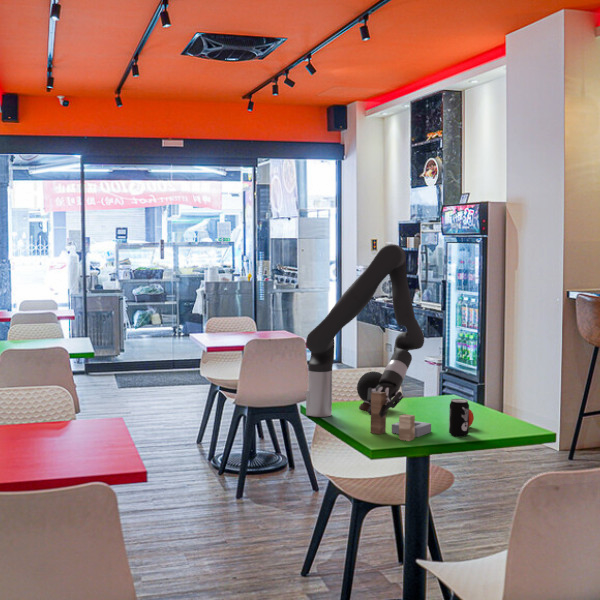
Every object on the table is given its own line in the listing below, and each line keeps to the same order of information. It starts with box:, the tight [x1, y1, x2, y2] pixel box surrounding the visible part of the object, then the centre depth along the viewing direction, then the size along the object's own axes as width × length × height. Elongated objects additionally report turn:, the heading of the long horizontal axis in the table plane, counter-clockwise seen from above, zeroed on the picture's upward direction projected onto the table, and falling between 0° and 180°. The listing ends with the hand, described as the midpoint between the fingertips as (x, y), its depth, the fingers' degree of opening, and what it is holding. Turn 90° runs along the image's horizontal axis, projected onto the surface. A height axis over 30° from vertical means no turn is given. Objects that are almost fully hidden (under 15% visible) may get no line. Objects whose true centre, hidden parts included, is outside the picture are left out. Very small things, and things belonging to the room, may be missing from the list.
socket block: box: [391, 420, 432, 438], centre depth 276 cm, size 10×10×3 cm
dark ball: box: [356, 370, 383, 412], centre depth 317 cm, size 13×13×15 cm
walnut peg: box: [370, 391, 387, 435], centre depth 275 cm, size 4×4×14 cm
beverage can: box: [448, 398, 470, 437], centre depth 273 cm, size 7×7×12 cm
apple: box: [469, 408, 475, 427], centre depth 284 cm, size 8×8×8 cm
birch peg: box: [398, 413, 416, 442], centre depth 265 cm, size 4×4×8 cm
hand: (375, 414), depth 273 cm, fingers closed on walnut peg, 3 cm apart
